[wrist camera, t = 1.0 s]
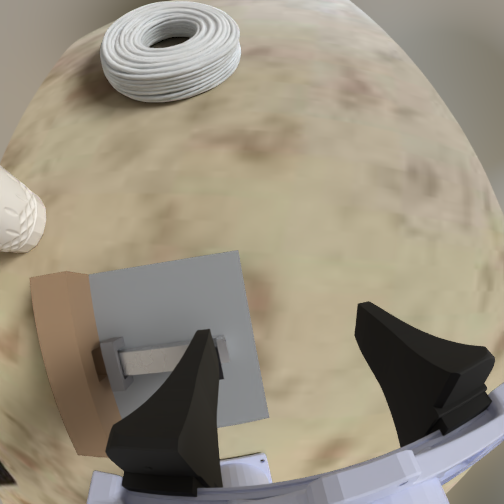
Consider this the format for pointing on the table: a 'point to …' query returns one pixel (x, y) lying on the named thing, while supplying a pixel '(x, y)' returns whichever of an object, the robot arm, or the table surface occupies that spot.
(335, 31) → the table surface
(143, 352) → the bolt
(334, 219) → the table surface
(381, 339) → the robot arm
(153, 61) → the cable
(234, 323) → the door and jamb
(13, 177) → the white cup
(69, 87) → the table surface
